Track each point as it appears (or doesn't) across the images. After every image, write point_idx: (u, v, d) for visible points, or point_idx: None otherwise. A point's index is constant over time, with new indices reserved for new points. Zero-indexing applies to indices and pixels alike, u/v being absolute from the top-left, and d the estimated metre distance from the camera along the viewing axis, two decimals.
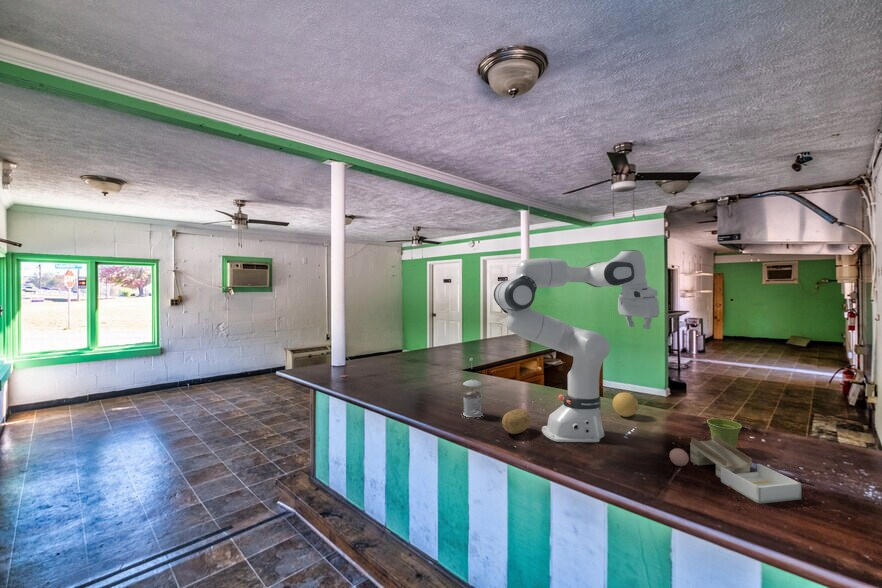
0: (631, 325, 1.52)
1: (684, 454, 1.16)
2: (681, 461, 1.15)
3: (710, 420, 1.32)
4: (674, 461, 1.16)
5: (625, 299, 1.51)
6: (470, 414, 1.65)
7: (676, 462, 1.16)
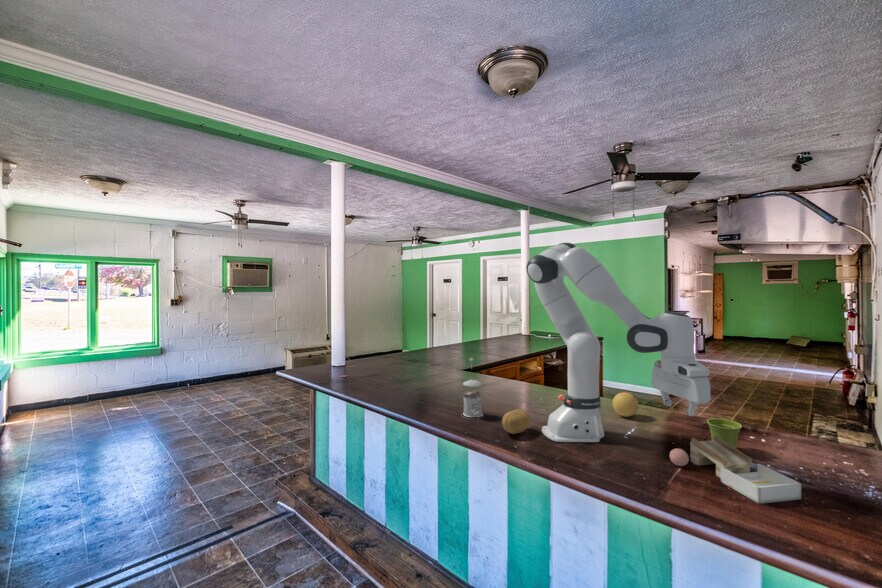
0: (668, 404, 1.21)
1: (684, 454, 1.16)
2: (681, 461, 1.15)
3: (710, 420, 1.32)
4: (674, 461, 1.16)
5: (663, 371, 1.21)
6: (470, 414, 1.65)
7: (676, 462, 1.16)
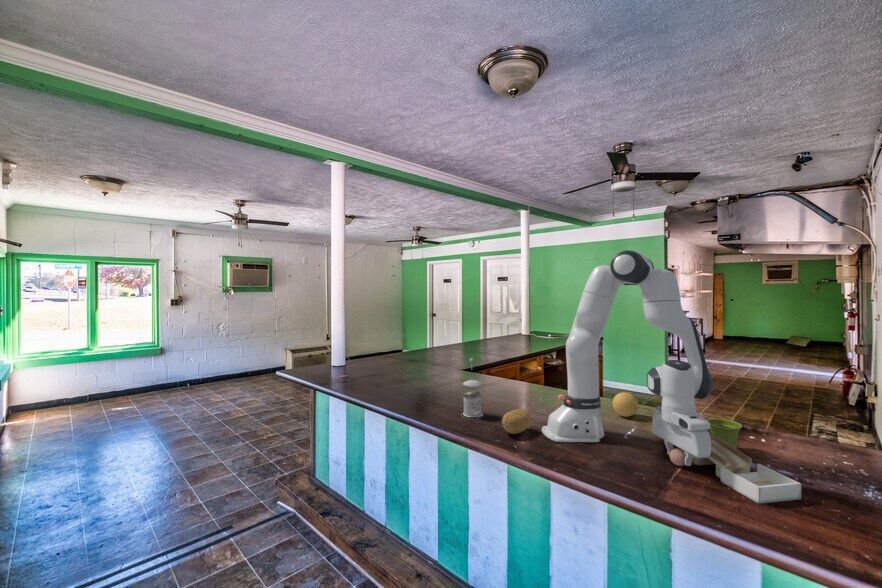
0: None
1: (684, 454, 1.16)
2: (681, 461, 1.15)
3: (710, 420, 1.32)
4: (674, 461, 1.16)
5: (664, 419, 1.21)
6: (470, 414, 1.65)
7: (676, 462, 1.16)
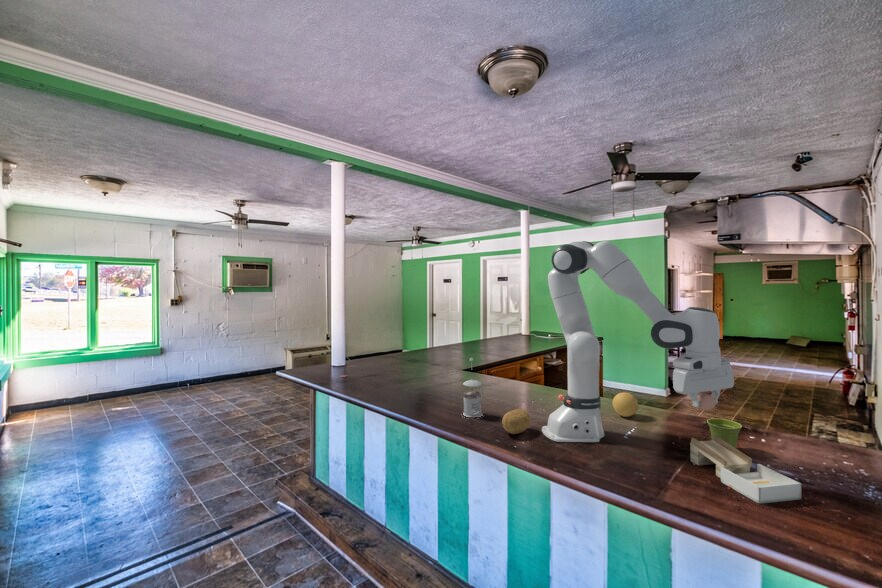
0: None
1: (701, 397, 1.17)
2: None
3: (710, 420, 1.32)
4: None
5: None
6: (470, 414, 1.65)
7: None
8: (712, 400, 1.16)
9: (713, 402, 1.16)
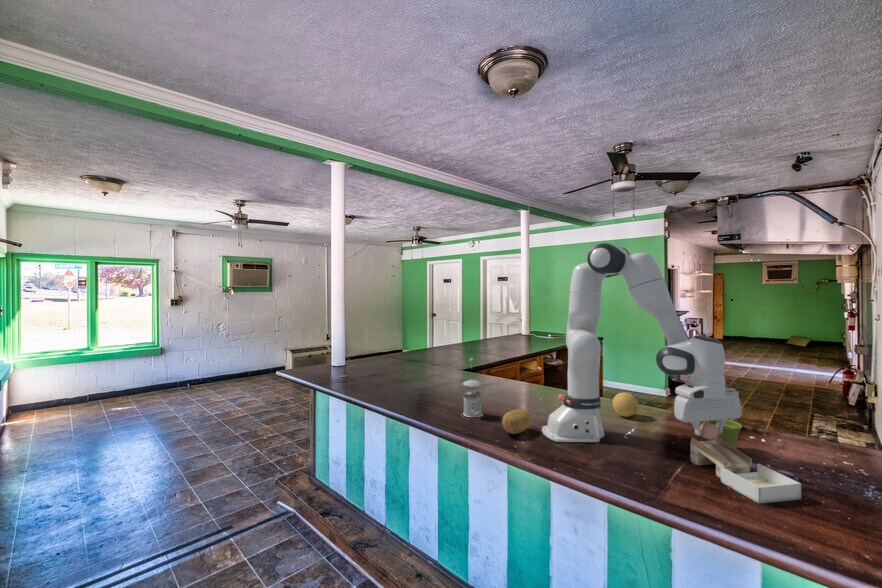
0: None
1: (704, 426, 1.18)
2: None
3: None
4: None
5: None
6: (470, 414, 1.65)
7: None
8: (715, 430, 1.16)
9: (716, 432, 1.16)
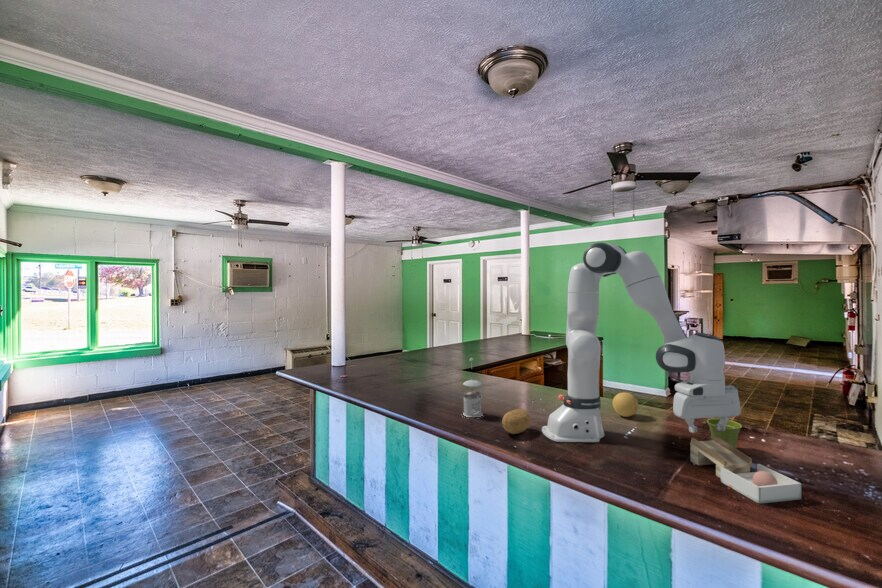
0: (717, 428, 1.20)
1: (764, 485, 0.99)
2: (756, 478, 1.01)
3: (710, 420, 1.32)
4: (758, 472, 1.02)
5: None
6: (470, 414, 1.65)
7: (756, 473, 1.02)
8: None
9: None
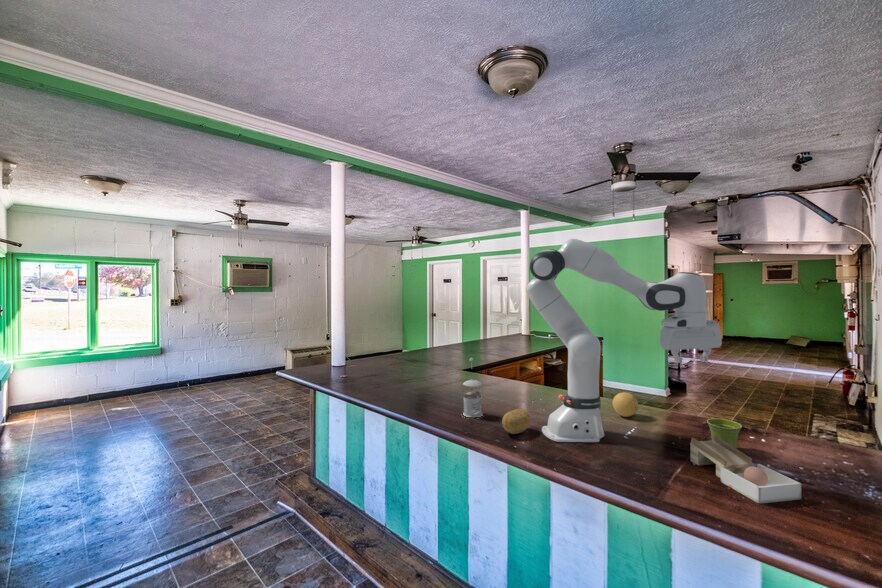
0: (701, 359, 1.30)
1: (752, 473, 1.02)
2: (744, 474, 1.04)
3: (710, 420, 1.32)
4: None
5: None
6: (470, 414, 1.65)
7: None
8: (764, 480, 1.01)
9: (765, 482, 1.01)
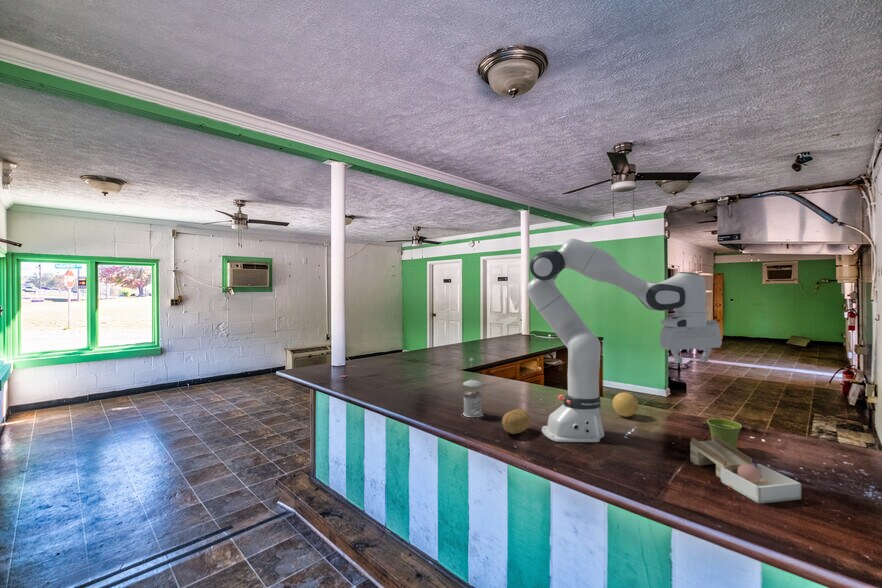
0: (701, 359, 1.30)
1: (741, 467, 1.05)
2: (738, 474, 1.06)
3: (710, 420, 1.32)
4: None
5: None
6: (470, 414, 1.65)
7: None
8: (755, 469, 1.04)
9: (756, 471, 1.03)
